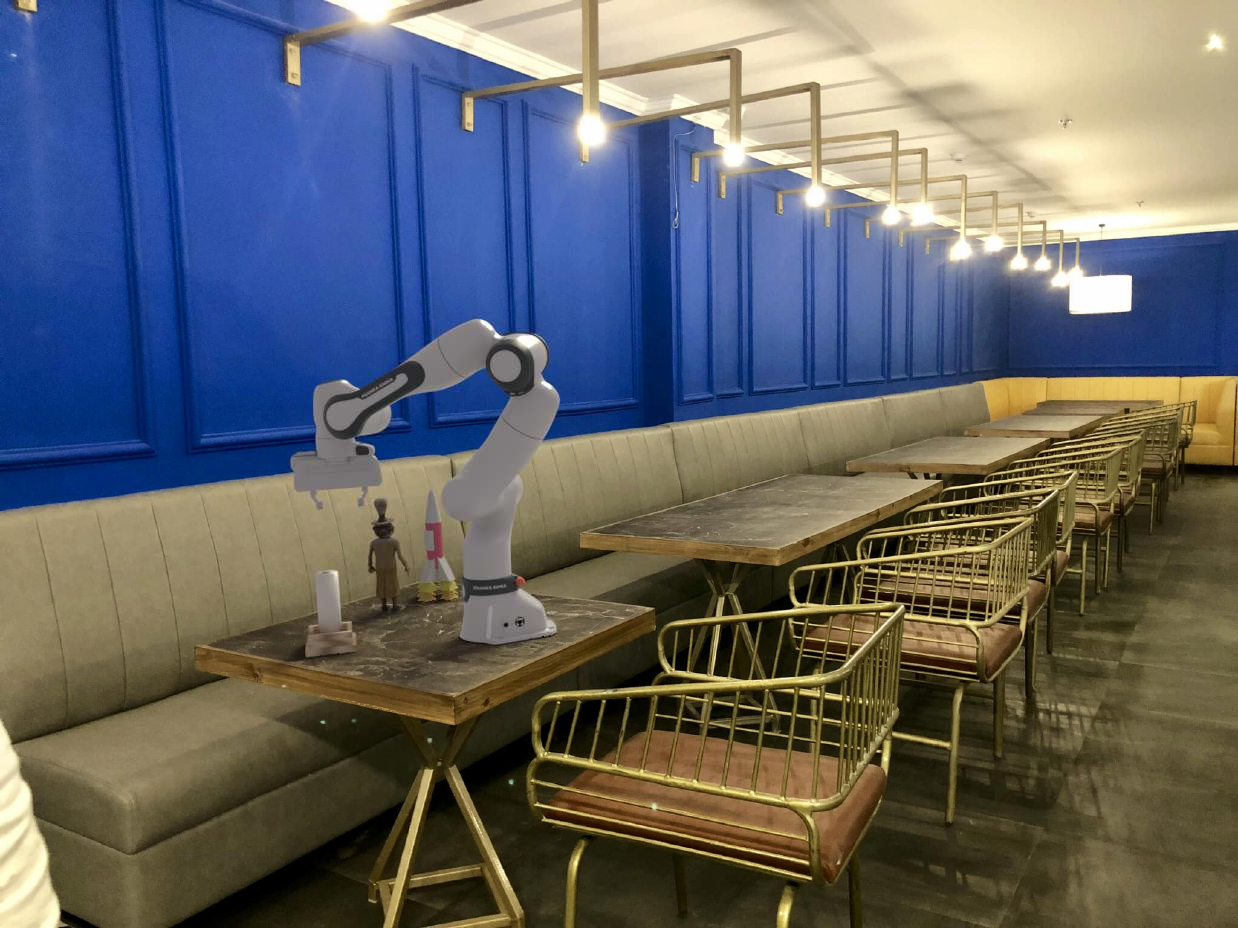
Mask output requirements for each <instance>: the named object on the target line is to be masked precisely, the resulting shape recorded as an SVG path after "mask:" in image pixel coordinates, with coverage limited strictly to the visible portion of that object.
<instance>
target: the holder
mask: <svg viewBox="0 0 1238 928" xmlns="http://www.w3.org/2000/svg"><path fill="white" fill-rule="evenodd" d="M341 622H342V632H332V633H323V634H319V624H313V625H308V631H307V632H308V633H307V637H306V639H305V640H306V642H305V650H304V651H305V658H312V657H320V655H321V656H330V655H338V654H337V653H339V654H347V652H348V653H356V652H358V649H357V647H358V645H357V633H356V632H353V623H352V621H351V620H350V621H341ZM329 654H330V655H329Z"/></svg>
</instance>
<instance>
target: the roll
mask: <svg viewBox="0 0 1238 928" xmlns="http://www.w3.org/2000/svg"><path fill="white" fill-rule="evenodd" d="M314 576H315V590H316V591H315V592H316V603H317V617H318V618H317V620H318V625H319V634H323V633H332V632H342V622H343V621H342V612H341V611H342V610H341V596H340V594H341V593H340V581H339V579H340V578H339V571H338V570H333V569H331V570H330V569H328V570H321V571H317V572H315V573H314Z"/></svg>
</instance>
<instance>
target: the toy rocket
mask: <svg viewBox="0 0 1238 928" xmlns="http://www.w3.org/2000/svg"><path fill="white" fill-rule="evenodd" d="M434 491H435V490H434V489H433V488H431V489H430V490H429V492H428V496H427V500H426V501H427V502H426V509H425V520H424V525H425V528H424V530H423V539H424V540H423V541H424V550H425V551H426V560H425V562H424V565H423V567H422V570H421V572H420V573H419V576H418V579H419V583H418V585H417V586H416V588H418V591H417V592H419V593H418V594H417V596H416V598H419V599H418V600H417V601H425V602H428V601H432V600H435V601H437V600H436V599H437V598H436V597H435V596H436V595H437V594H436V593H434V592H436V591H438V589H437V587H439V586H440V588H439V591H441V592H439V594H443V595H441V597H440V598H439V600H440V599H445V600H444V601H448V600H451V601H453V600H452V599H454V598H457V599H459V598H458V597H459V595H458V591H456V590H457V589H459V587H458V585H457V582H456V581H455V580H456V578H455V575H454V572H453V570H452V568H451V567H450V565H449V563H448V561H447V559H446V557H445V555H444V541H443V525H442V524H443V522H442V517H441V513H440V508H439V504H438V501H437V496H436V494H435V492H434ZM436 570H437V573H436ZM436 574H437V575H436ZM436 576H437V577H436ZM437 578H438V581H439V582H438V584H437V587H436V584H435V583H434V582H435V581H437ZM455 593H457V594H455ZM433 595H435V596H433ZM454 600H455V599H454ZM425 602H424V603H425ZM432 602H433V601H432Z"/></svg>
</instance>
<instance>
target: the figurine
mask: <svg viewBox="0 0 1238 928" xmlns="http://www.w3.org/2000/svg"><path fill="white" fill-rule="evenodd" d="M373 505H374V508H375V510H376V512H377V515H378V519H376V520H372V521H371V522H370V525H371V526H372V531H373V532H374V534H375V536H376V537H378V538H375V539H374V540H372V541H371V542H370V545H369V551H368V556H367V562H368V563H367V567H368V569H367V572H368V573H369V574H373V573H374V572H375V574H376V575H375V577H376V582H375V583H376V585H375V586H376V587H375V597H376V599H380V601H381V609H380V614H387V613H389V612H390V611H391V612H390V613H391V614H399V613H400V612H402V611H403V610H405V609H407V608H406V607H407V605H406V604H398V597H399V596H400V595H401V588H400V583H399V577H398V567H397V565H398V564H397V559H396V555H397V558H398V560H399V561H400V563H401V565H402V567H404V572H406V574H407V577H408V578H410V575H409V574H410V571H411V567H410V566H409V565H408V562H407V561H406V559H405V558H404V556H403V553H402V551H401V545H400V542H399V540H398V539H397V538H395V537H392V535H393V534H394V533H395V526H394V525H393V522H394V518H391V517H386V513H387V512H386V511H387V509H388V500H387V499H386V498H382V497H379V498H375V499H374V501H373ZM373 553H374V556H375V564H373ZM373 565H374V566H373ZM387 599H391V601H392V604H389V605H387ZM401 610H402V611H401Z"/></svg>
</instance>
